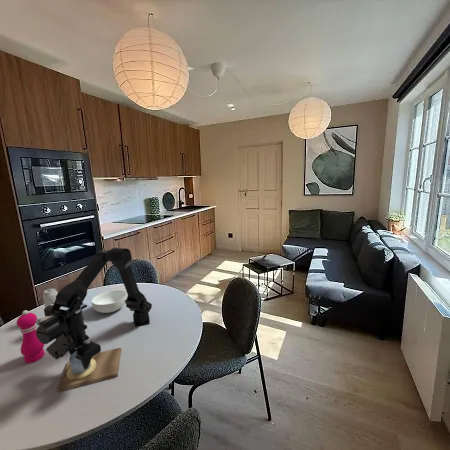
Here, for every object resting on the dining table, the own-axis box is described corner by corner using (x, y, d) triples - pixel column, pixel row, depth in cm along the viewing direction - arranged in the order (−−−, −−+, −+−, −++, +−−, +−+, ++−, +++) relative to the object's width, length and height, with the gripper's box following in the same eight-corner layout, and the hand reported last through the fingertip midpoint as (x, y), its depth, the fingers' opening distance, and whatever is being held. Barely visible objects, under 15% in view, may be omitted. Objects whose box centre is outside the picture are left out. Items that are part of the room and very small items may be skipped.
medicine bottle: (56, 335, 110) (51, 310, 107) (42, 334, 111) (37, 309, 109) (69, 326, 116) (64, 302, 114) (56, 324, 118) (51, 301, 116)
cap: (95, 366, 87) (92, 354, 86) (74, 377, 82) (72, 364, 81) (88, 358, 91) (86, 346, 90) (68, 368, 87) (66, 356, 86)
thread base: (121, 350, 98) (120, 345, 98) (117, 376, 85) (116, 370, 85) (69, 362, 93) (68, 356, 93) (57, 391, 80) (56, 386, 79)
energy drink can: (53, 322, 120) (48, 293, 117) (44, 320, 122) (39, 292, 119) (64, 315, 126) (59, 288, 123) (56, 314, 128) (51, 287, 125)
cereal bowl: (134, 305, 133) (133, 293, 132) (105, 321, 119) (103, 308, 118) (115, 298, 142) (113, 287, 141) (86, 312, 128) (84, 299, 127)
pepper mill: (31, 351, 100) (21, 306, 96) (50, 350, 100) (41, 304, 96) (18, 365, 93) (7, 316, 89) (38, 363, 93) (28, 314, 89)
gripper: (34, 329, 82) (43, 370, 85) (62, 348, 72) (70, 393, 75) (69, 313, 91) (76, 350, 94) (98, 328, 81) (105, 369, 84)
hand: (81, 365), depth 87 cm, fingers closed on cap, 6 cm apart
